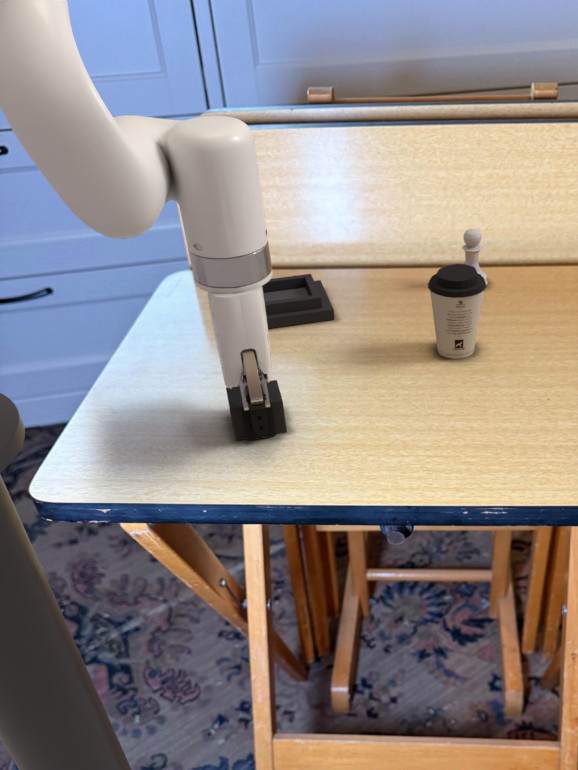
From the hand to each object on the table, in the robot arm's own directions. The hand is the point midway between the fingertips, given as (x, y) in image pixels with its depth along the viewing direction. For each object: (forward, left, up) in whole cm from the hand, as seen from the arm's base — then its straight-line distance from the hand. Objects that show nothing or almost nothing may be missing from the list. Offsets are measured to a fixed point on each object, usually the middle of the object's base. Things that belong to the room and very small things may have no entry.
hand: (258, 422), depth 88 cm
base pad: (+7, +28, 0) cm, 29 cm away
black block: (0, 0, 0) cm, 0 cm away
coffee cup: (+26, +10, -1) cm, 28 cm away
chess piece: (+34, +28, -1) cm, 44 cm away
